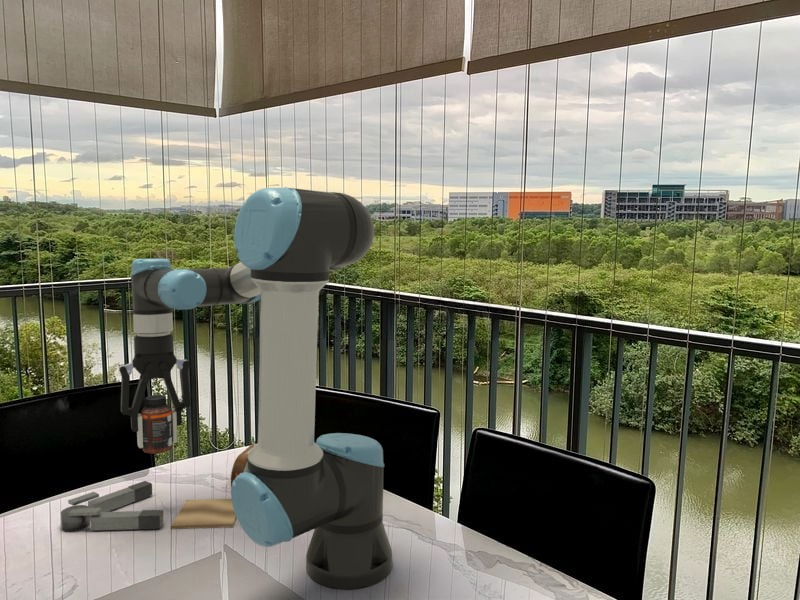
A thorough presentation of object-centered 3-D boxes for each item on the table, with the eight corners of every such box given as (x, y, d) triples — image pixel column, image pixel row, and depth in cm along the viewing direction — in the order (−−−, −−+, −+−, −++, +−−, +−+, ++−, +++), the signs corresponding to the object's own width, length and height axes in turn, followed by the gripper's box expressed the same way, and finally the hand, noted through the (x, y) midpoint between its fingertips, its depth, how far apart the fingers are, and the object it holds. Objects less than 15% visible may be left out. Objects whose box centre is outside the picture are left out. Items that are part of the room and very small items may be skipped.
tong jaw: (74, 524, 120) (74, 503, 120) (68, 520, 122) (67, 499, 121) (152, 495, 134) (151, 476, 134) (145, 492, 136) (144, 473, 135)
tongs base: (159, 530, 119) (159, 511, 118) (55, 533, 117) (54, 514, 116) (167, 517, 124) (167, 499, 124) (68, 520, 122) (67, 501, 122)
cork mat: (232, 526, 120) (232, 524, 120) (170, 528, 119) (170, 525, 119) (242, 501, 132) (242, 498, 132) (186, 502, 131) (186, 500, 131)
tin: (254, 472, 149) (254, 439, 148) (266, 473, 148) (266, 440, 148) (229, 498, 134) (228, 461, 133) (242, 499, 134) (242, 462, 133)
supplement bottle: (179, 448, 127) (177, 395, 126) (154, 456, 122) (152, 401, 121) (161, 443, 130) (159, 392, 129) (136, 451, 125) (134, 397, 124)
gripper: (197, 328, 132) (200, 431, 134) (100, 334, 123) (105, 445, 124) (205, 332, 126) (208, 441, 128) (104, 339, 116) (109, 456, 118)
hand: (157, 443), depth 126 cm, fingers closed on supplement bottle, 6 cm apart
